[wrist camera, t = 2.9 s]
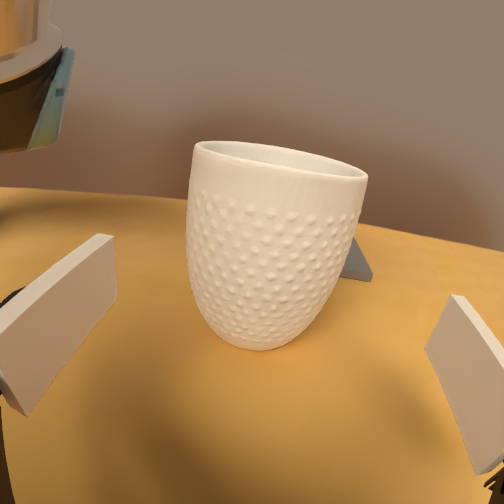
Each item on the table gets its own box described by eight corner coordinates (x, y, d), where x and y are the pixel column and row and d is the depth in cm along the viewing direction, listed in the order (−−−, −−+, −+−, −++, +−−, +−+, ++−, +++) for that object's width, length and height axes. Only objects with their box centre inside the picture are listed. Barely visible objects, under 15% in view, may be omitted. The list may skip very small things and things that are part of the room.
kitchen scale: (231, 257, 34) (232, 247, 33) (248, 213, 48) (249, 206, 48) (370, 281, 33) (373, 272, 33) (346, 232, 48) (348, 225, 47)
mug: (271, 264, 34) (294, 144, 28) (359, 311, 28) (403, 176, 22) (153, 312, 23) (158, 139, 17) (258, 402, 17) (313, 180, 11)
